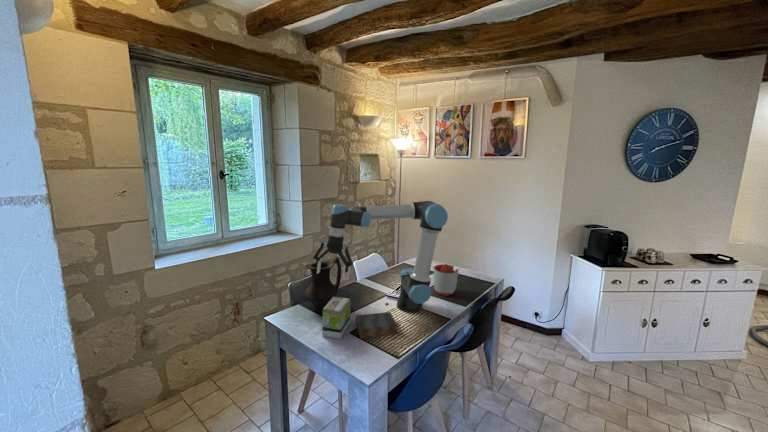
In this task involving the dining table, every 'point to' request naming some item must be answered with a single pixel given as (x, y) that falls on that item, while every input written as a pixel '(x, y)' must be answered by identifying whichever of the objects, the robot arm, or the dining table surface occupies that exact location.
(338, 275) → the jug
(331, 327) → the tea box
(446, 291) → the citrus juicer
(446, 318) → the dining table surface
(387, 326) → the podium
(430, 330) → the dining table surface
